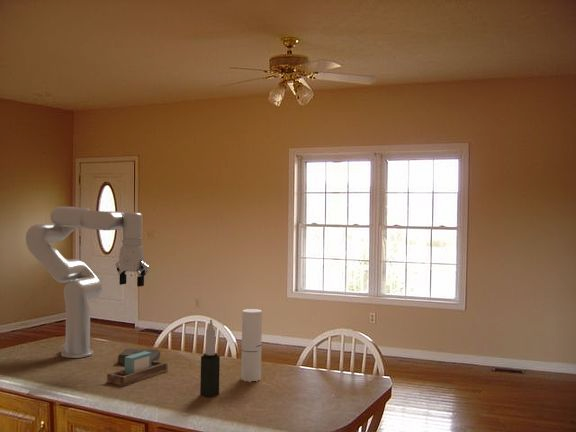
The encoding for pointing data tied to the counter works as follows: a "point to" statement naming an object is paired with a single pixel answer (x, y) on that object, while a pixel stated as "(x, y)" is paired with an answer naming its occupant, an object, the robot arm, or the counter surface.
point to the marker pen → (210, 366)
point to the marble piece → (128, 352)
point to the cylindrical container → (251, 344)
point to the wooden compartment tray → (137, 374)
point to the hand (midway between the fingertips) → (131, 285)
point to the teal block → (137, 362)
